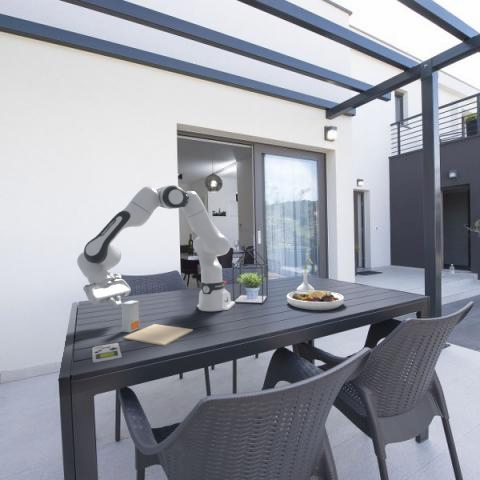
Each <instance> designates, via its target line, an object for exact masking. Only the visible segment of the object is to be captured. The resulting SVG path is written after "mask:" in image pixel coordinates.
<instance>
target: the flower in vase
mask: <svg viewBox="0 0 480 480" xmlns="http://www.w3.org/2000/svg"><path fill="white" fill-rule="evenodd" d="M305 255H306V257H307V260H306V262H305V264H304V267H303V270H301V273H302V276H303V282H302V283H301V284H300V285H299V286H297V288H296V291H309V290H314V291H315V288H314V287H313V286H312V285H311V284H309V282H308V274H309V272H310V270H307V269H308V265H307V263H308V261H309V262H310V264H311V265H313V264H314V263H313V261H312V260H311V258H310V256H309V255H308V253H306V254H305Z"/></svg>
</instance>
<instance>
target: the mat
mask: <svg viewBox="0 0 480 480" xmlns="http://www.w3.org/2000/svg"><path fill="white" fill-rule="evenodd" d="M193 331H194V329H193V328H185V327H178V326H172V325H171V326H170V325H165V324H164V325H163V324H157V323H153V324H151V325H149V326H147V327H144V328H141V329H140V330H139V329H138V330H137V331H135V332H134V331H133V332H131V333H130V334H127V335H125V336H123V339H125V340H130V341H135V342H142V343H147V344H153V345H158V346H164V347H165V346H167V345H169V344H171V343H173V342H175V341H176V340H179V339H180V338H182V337H184V336H185V335H188V334H190V333H192V332H193Z"/></svg>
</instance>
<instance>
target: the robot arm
mask: <svg viewBox="0 0 480 480" xmlns="http://www.w3.org/2000/svg"><path fill="white" fill-rule="evenodd" d="M158 207H161V208H165V209H169V210H172V209H180V210H181V211H182V213H183V214H184V217H185V219H186V221H187V223H188V225H189V226H190V229H191V231H192V232H193V233H195V234H196V235H197V237H195V239H193V244H192V248H193V250H194V251H195V253H196V254H197V258H198V261H199V267H200V274H201V275H200V276H201V277H200V279H201V281H200V284H199V287H200V291H199V293H198V304H197V305H196V307H197V308H198V310H200V311H201V312H219V311H229V310H230V309H231V308H232V307H234V305H236V302H235V301H233V300H232V299H231V297H232V296H231V293H230V292H229V291H228V290H226V288H225V285H227V281H226V280H223V267H222V264H220V262H219V260H218V257H221V256H224V255H226V254H228V252H229V251H230V250H231V243H230V242H231V241H230V240H229V238H228V237H226V236H225V235H223V233H222V232H221V231H220V230H219V229H218V227H217V226H216V225H215V223H213V221H212V219H211V218H210V215H209V213H208V210H207V209H206V206H205V204H204V202H203V201H202V199H201V198H200V196H199V194H198V193H197V192H196V191H194V190H193V191H192V190H187V191H185V190H184V189H182V188H181V187H180V186H178V185H174V184H173V185H165V186H163V187H160V188H158V189H156V188H153V187H152V186H144V187H141V189H140V190H139V191H138V192H137V193H136V194H135V195H134V196H133V198H132V199H131V200H130V202H128V204H127V205H126V206H125V208H124V209H122V210H121V211H119V212H118V213H117V214H115V215H114V216H113V217H112V218H111V220H110V221H108V223H107V224H105V226H104V227H103V228H102V230H100V232H99V233H98V234H97V235H96V236H95V237H93V238H92V239H90V240H89V241H88V242H87V243H86V244H85V246H84V249H83V252H81V253H80V254H79V255H78V257H77V259H76V260H77V261H76V263H77V265H78V268H79V270H80V271H81V274H83V276H84V277H85V278H86V279H87V280H88V283H89V284H85V285H84V286H83V287H82V288H83V291H84V293H85V296H86V297H87V299H88V301H89V303H90V304H92V305H97V304H101V303H104V302H108V303H109V304H110V305H113V306H114V308H119V307H122V303H123V302H122V299H121V298H124V297H127V296H129V294H131V291H132V289H131V287H130V285H129V284H128V283H127V282H126V280H124V279H123V278H122V277H123V276H122V275H121V274H119V273H112V272H109V270H111V269H112V268H115V266H117V265H118V264H119V262H120V261H121V259H122V253H121V250H120V249H118V248H117V247H116V246H114V245H111V243H112V242H113V241H114V240H115V239H116V237H118V236H119V235H120V233H121V232H123V230H125V229H127V228H135V227H136V228H137V227H141V226H144V224H146V223H147V222H148V221H149V219H150V218H151V216H152V215H153V213H154V212H155V210H156V209H157V208H158Z"/></svg>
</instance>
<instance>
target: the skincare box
mask: <svg viewBox="0 0 480 480" xmlns="http://www.w3.org/2000/svg"><path fill="white" fill-rule="evenodd" d="M139 303H140V301H139V300H129V301H125V302H122V305H121V327H122V328H121V331H122V332H123V333H133V332H134V331H136V330H139V329H140V310H139V309H140V307H139V306H140V304H139Z"/></svg>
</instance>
